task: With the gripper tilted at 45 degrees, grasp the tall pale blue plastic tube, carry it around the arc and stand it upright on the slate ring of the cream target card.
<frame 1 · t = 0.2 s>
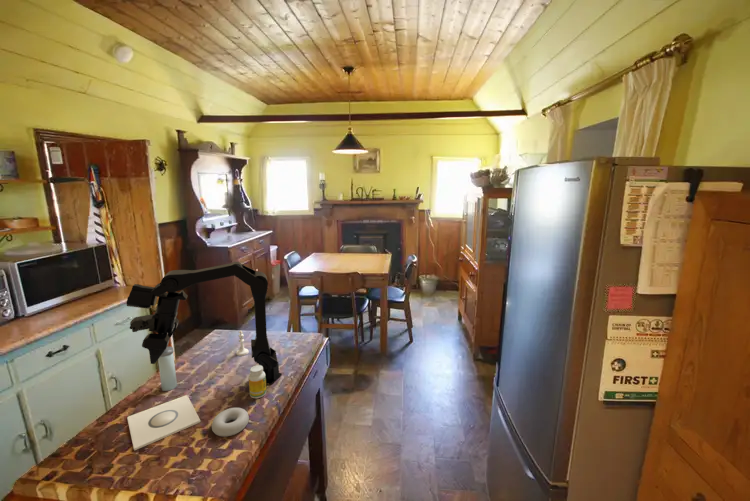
hand: (156, 356, 103), 15 cm above the table, fingers open, 9 cm apart
chess piece: (242, 353, 136), on the table
target card: (163, 420, 96), on the table
donut: (231, 427, 95), on the table
supplement bottle: (258, 394, 109), on the table
tube: (169, 387, 112), on the table
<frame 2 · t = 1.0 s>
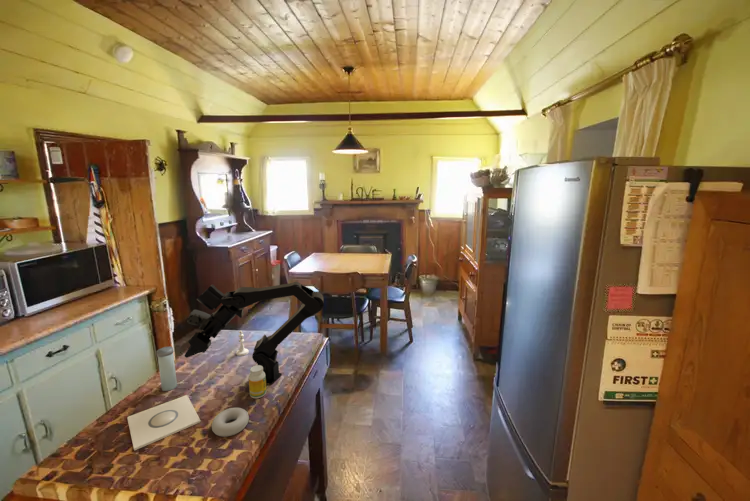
hand: (190, 349, 111), 13 cm above the table, fingers open, 9 cm apart
nothing on the table moved.
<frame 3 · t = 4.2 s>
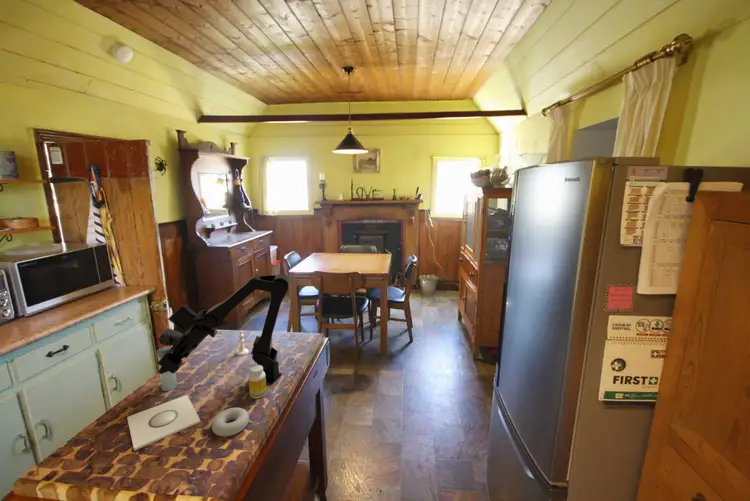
hand: (162, 369, 111), 7 cm above the table, fingers closed on tube, 4 cm apart
tube: (169, 387, 112), on the table, touching gripper
everything else where it was.
when the fingers open (9 cm above the table, at t = 9.0 s): tube drops 1 cm, resting on target card.
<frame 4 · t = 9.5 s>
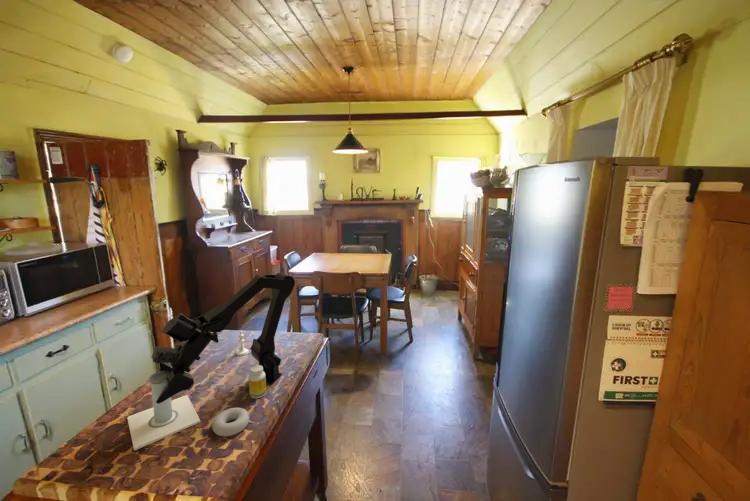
hand: (154, 395, 94), 9 cm above the table, fingers open, 9 cm apart
tube: (163, 418, 96), point 1 cm above the table, touching target card
everything else where it was.
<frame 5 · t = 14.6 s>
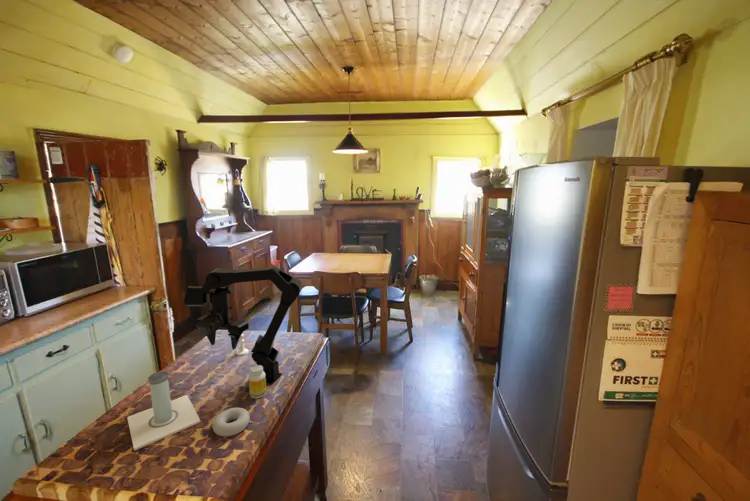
hand: (223, 346, 114), 13 cm above the table, fingers open, 9 cm apart
nothing on the table moved.
at the end: tube inside the target area on the target card (0.0 cm from its centre), point 0.7 cm above the target card's base; tube tilted 0°; the gripper is holding nothing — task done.
